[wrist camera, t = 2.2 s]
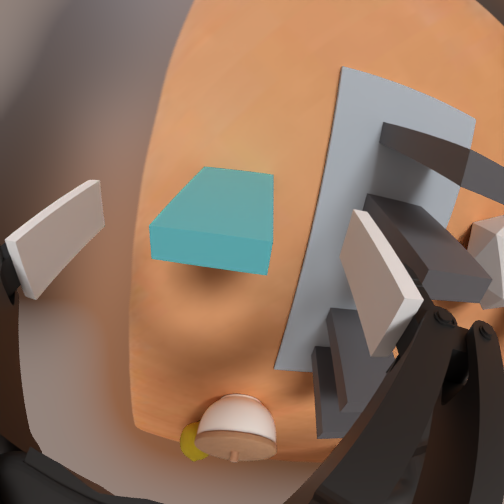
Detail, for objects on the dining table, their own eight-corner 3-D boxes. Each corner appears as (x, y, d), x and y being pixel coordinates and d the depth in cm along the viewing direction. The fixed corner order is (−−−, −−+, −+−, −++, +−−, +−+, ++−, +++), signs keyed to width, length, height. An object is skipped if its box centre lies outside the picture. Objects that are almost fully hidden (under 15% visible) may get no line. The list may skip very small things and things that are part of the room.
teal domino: (270, 195, 20) (267, 275, 12) (203, 187, 20) (151, 258, 12) (273, 174, 19) (272, 241, 11) (204, 166, 19) (149, 225, 11)
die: (498, 264, 22) (560, 255, 12) (467, 324, 21) (537, 332, 11) (465, 209, 22) (531, 184, 13) (430, 267, 21) (509, 258, 12)
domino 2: (353, 357, 28) (367, 436, 20) (311, 355, 28) (317, 438, 20) (358, 348, 27) (375, 429, 19) (315, 346, 27) (322, 432, 19)
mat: (368, 371, 30) (368, 373, 30) (274, 366, 30) (274, 369, 30) (473, 118, 15) (476, 119, 14) (341, 66, 15) (342, 66, 14)
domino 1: (371, 323, 25) (396, 409, 17) (325, 319, 25) (339, 412, 17) (377, 311, 25) (406, 398, 16) (330, 307, 25) (347, 402, 16)
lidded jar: (275, 420, 38) (272, 472, 30) (207, 414, 39) (198, 465, 31) (281, 387, 33) (280, 452, 25) (199, 380, 33) (184, 443, 25)
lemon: (180, 412, 39) (170, 453, 32) (211, 414, 38) (203, 457, 32) (192, 426, 42) (184, 463, 35) (221, 427, 41) (215, 467, 34)
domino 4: (414, 224, 20) (479, 303, 11) (361, 212, 20) (414, 297, 11) (420, 206, 19) (492, 279, 10) (367, 193, 19) (428, 269, 10)
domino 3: (434, 160, 17) (521, 213, 8) (378, 142, 17) (460, 186, 8) (438, 141, 16) (530, 184, 8) (383, 121, 16) (470, 149, 8)
